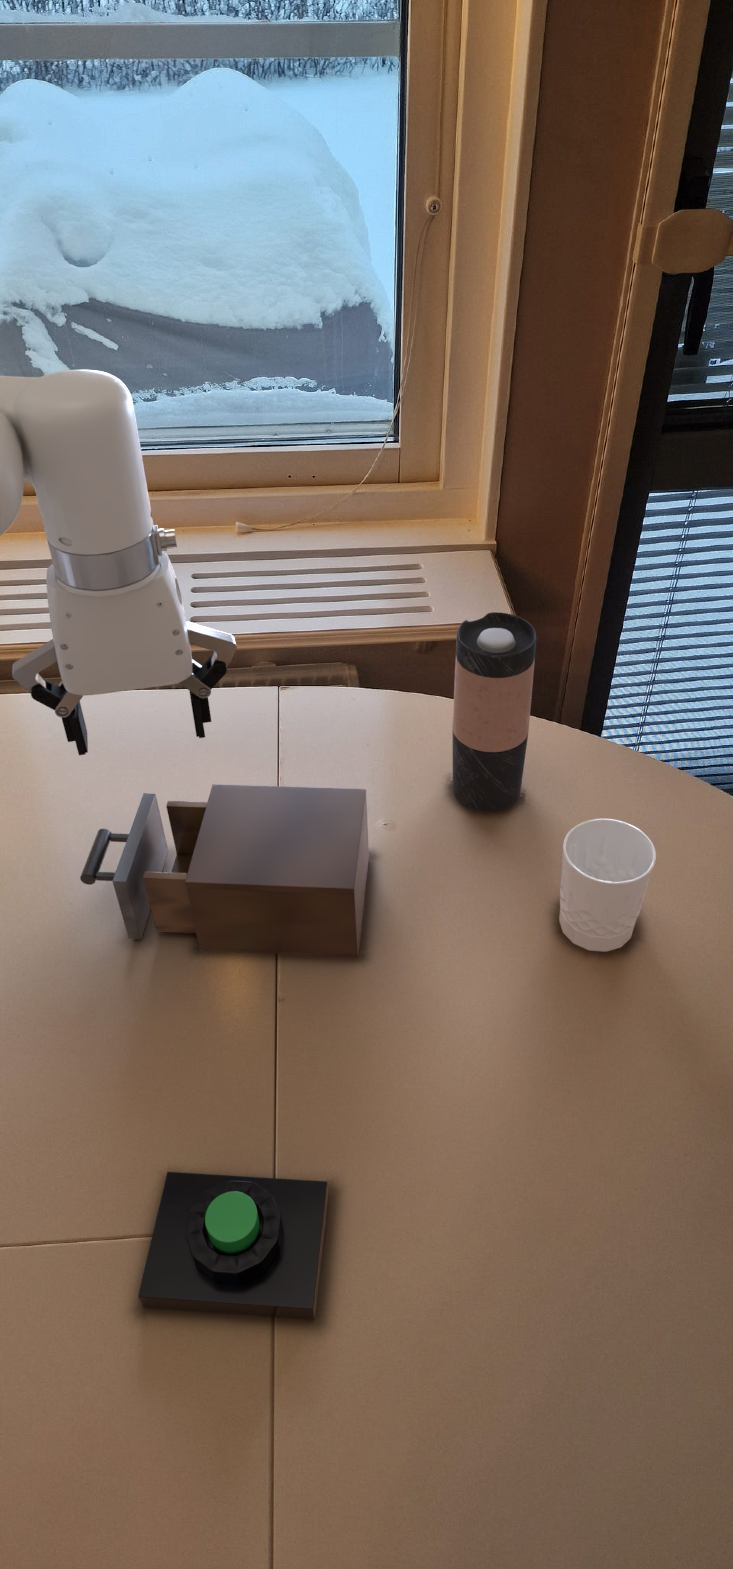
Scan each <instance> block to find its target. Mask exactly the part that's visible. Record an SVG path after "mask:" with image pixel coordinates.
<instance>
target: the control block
mask: <svg viewBox="0 0 733 1569" xmlns="http://www.w3.org/2000/svg"><path fill="white" fill-rule="evenodd" d="M232 1191H236V1192H241V1193H244V1194H246V1195H248V1196H249V1197H250V1198H251V1199H252V1200H253V1201H254V1203H255V1205H256V1208H257V1212H258V1217H259V1222H260V1229H259V1233H258V1236H257V1238H256V1239H255V1241H254V1242H253V1243H252V1245H251V1246H249V1247H248V1248H247V1249H245V1250H243V1251H241V1252H238V1253H225V1252H222V1251H220V1250H218V1249H217V1248H215V1247H214V1245H213V1244H212V1243H211V1241H210V1239H209V1235H208V1232H207V1228H206V1225H205V1215H206V1211H207V1209H208V1207H209V1205H210V1204H211V1202H212V1201H213V1200H214V1199H215V1198H217V1197H218V1196H220V1195H222V1194H224V1193H227V1192H232ZM329 1193H330V1192H329V1185H328V1181H324V1180H308V1179H293V1178H291V1179H290V1178H276V1177H275V1178H273V1177H259V1176H258V1177H257V1176H242V1175H227V1174H214V1173H213V1174H212V1173H211V1174H209V1173H197V1172H196V1173H194V1172H180V1171H179V1172H178V1171H166V1176H165V1179H164V1185H163V1188H162V1193H161V1197H160V1201H159V1206H158V1210H157V1215H156V1218H155V1223H154V1226H153V1232H152V1235H151V1239H150V1244H149V1248H148V1252H147V1257H146V1261H145V1266H144V1270H143V1273H142V1278H141V1283H140V1286H139V1291H138V1299H139V1302H140V1304H141V1307H142V1308H144V1309H156V1310H157V1309H158V1310H168V1311H169V1310H171V1311H183V1312H184V1311H185V1312H198V1313H212V1314H226V1315H240V1316H253V1317H254V1316H255V1317H267V1318H279V1319H295V1320H309V1321H315V1320H316V1312H317V1305H318V1304H317V1303H318V1295H319V1284H320V1277H321V1267H322V1258H323V1248H324V1240H325V1230H326V1221H327V1213H328V1206H329V1204H328V1203H329V1195H330V1194H329Z"/></svg>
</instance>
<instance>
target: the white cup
mask: <svg viewBox="0 0 733 1569" xmlns="http://www.w3.org/2000/svg"><path fill="white" fill-rule="evenodd" d="M561 856H562V857H561V858H562V859H561V870H560V881H559V882H560V883H559V885H560V889H559V890H560V891H559V916H558V917H559V918H558V921H559V925H560V927H561V930H562V933H563V934H564V935H565V937H567V939H568V940H570V941H571V943H572V944H574V945H575V946H578V947H580V948H583V949H585V950H587V951H590V952H591V951H593V952H604V953H605V952H610V951H613V950H616V949H620V948H622V947H623V946H624V945H626V943H627V942H629V940H631V939H632V936H633V932H634V928H635V925H636V922H637V919H638V918H639V916H640V914H641V911H642V907H643V905H644V901H645V899H646V896H647V891H648V888H649V886H650V881H651V878H652V875H653V872H654V868H655V864H656V861H657V852H656V848H655V846H654V844H653V842H652V840H651V839H650V838H649V837H648V835H647V834H646V833H645V832H643V831H642V830H641V829H639V828H638V827H636V826H635V825H633V824H630V823H627V822H625V821H622V820H619V819H612V818H593V819H588V820H585V821H582V822H580V823H579V824H576V825H575V826H573V827H572V828H571V829H570V830H569V831H568V832H567V833H566V835H565V837H564V840H563V842H562V855H561Z"/></svg>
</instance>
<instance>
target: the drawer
mask: <svg viewBox="0 0 733 1569" xmlns="http://www.w3.org/2000/svg"><path fill="white" fill-rule="evenodd" d="M207 803H208V801H190V800H187V801H186V800H167V803H166V806H165V808H166V812H167V815H168V820H169V825H170V830H171V834H172V839H173V843H174V848H175V853H176V856H175V859H174V861H173V862H174V863H173V866H172V869H171V872H165V871H164V872H163V869H164V867H165V864H166V860H167V857H168V853H169V846H168V843H167V839H166V838H167V837H166V832H165V829H164V825H163V820H162V815H161V812H160V807H159V803H158V799H157V794H156V793H149V792H148V793H147V792H145V793H142V796H141V799H140V802H139V805H138V808H137V811H136V813H135V816H134V819H133V821H132V824H131V828H130V830H129V833H115V832H114V833H113V832H112V831H111V830H109V829H108V828H100V829H98V830H97V833H96V834H95V835H96V836H95V838H94V840H93V843H92V846H91V848H90V851H89V853H88V856H87V859H86V861H85V863H84V866H83V869H82V871H81V874H80V876H79V879H80V881H81V882H82V884H85V885H88V886H91V885H94V884H95V883H96V881H100V882H101V881H102V882H103V881H104V882H112V885H113V888H114V891H115V895H116V898H117V902H118V906H119V909H120V911H121V912H120V913H121V916H122V920H123V923H124V926H125V930H126V934H127V937H128V939H133V940H142V938H143V936H144V932H145V929H146V925H147V921H148V918H149V915H150V912H151V915H152V919H153V923H154V928H155V931H156V932H159V933H160V932H162V933H183V934H196V931H195V926H194V921H193V917H192V912H191V907H190V903H189V898H188V894H187V889H186V885H185V880H186V877H187V873H188V870H189V866H190V863H191V859H192V856H193V852H194V849H195V845H196V842H197V838H198V834H199V831H200V827H201V824H202V820H203V817H204V813H205V810H206V806H207ZM112 842H113V843H125V845H124V847H123V850H122V853H121V856H120V859H119V862H118V865H117V868H116V870H115V872H113V871H111V872H110V871H100V870H101V867H102V865H103V863H104V859H105V856H106V855H107V851H108V848H109V846H110V843H112Z"/></svg>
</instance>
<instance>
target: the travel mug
mask: <svg viewBox="0 0 733 1569" xmlns="http://www.w3.org/2000/svg"><path fill="white" fill-rule="evenodd" d="M455 641H456V642H455V643H456V644H455V661H454V662H455V664H454V665H455V666H454V685H453V706H452V707H453V708H452V732H451V734H452V735H451V736H452V737H451V738H452V791H453V794H454V797H455V798H456V800H457V802H459V803H460V804H461V805H463V806H465V807H466V808H468V809H471V810H473V811H477V812H483V813H493V812H501V811H503V810H505V809H508V808H510V807H511V806H513V805H514V804H515V803H516V802H517V801H518V799H519V797H520V794H521V789H522V782H523V775H524V769H525V768H524V767H525V761H526V753H527V746H528V738H529V731H530V721H531V706H532V696H533V684H534V673H535V672H534V671H535V660H536V659H535V658H536V650H537V649H536V648H537V633H536V630H535V628H534V626H533V625H532V624H531V623H530V622H529V621H527V619H524V618H522V617H520V616H518V615H515V614H511V613H507V612H495V611H494V612H488V613H485V615H484V616H483V617H481V618H479V619H475V620H471V621H470V620H467V619H465V620H463V621H462V622H461V624H460V625H459V627H458V629H457V631H456V640H455Z"/></svg>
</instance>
